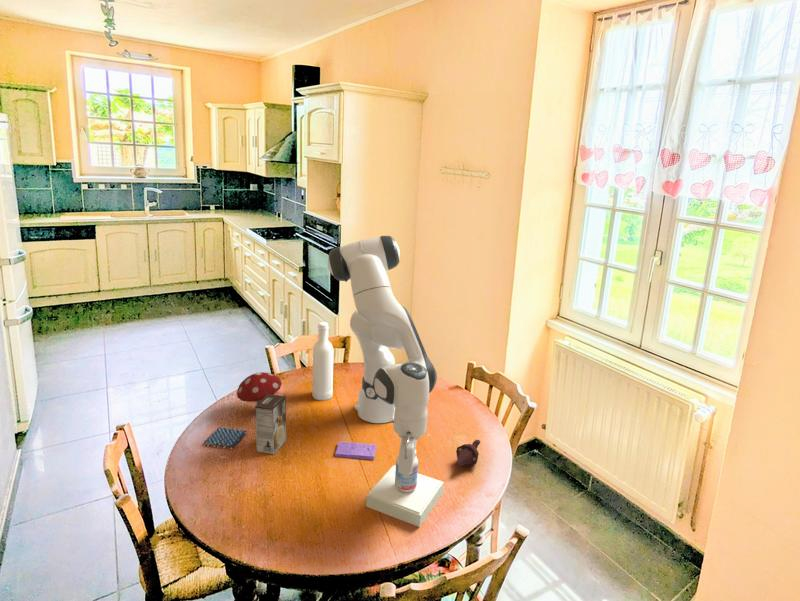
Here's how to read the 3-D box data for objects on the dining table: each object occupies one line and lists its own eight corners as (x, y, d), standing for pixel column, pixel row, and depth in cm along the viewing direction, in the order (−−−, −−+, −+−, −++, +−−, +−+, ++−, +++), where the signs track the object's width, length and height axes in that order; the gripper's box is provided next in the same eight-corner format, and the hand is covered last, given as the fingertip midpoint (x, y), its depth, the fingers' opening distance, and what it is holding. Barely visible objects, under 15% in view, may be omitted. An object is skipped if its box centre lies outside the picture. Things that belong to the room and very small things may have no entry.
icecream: (471, 462, 150) (490, 444, 162) (450, 448, 153) (470, 431, 166) (463, 481, 152) (482, 461, 165) (442, 466, 155) (463, 448, 168)
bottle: (307, 396, 198) (308, 323, 189) (322, 389, 204) (322, 318, 195) (323, 402, 193) (323, 328, 185) (337, 395, 200) (338, 323, 191)
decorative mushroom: (271, 425, 176) (270, 386, 172) (228, 419, 178) (226, 380, 174) (289, 404, 191) (288, 367, 187) (249, 398, 193) (248, 362, 189)
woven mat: (218, 430, 172) (217, 425, 171) (247, 434, 170) (247, 429, 170) (201, 447, 162) (201, 441, 161) (233, 451, 160) (232, 446, 160)
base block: (393, 475, 152) (393, 463, 151) (442, 492, 146) (443, 480, 144) (366, 506, 138) (366, 493, 137) (419, 527, 132) (420, 514, 131)
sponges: (373, 461, 160) (374, 456, 159) (334, 458, 160) (334, 452, 160) (376, 449, 166) (376, 444, 166) (338, 445, 167) (338, 440, 166)
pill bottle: (403, 495, 137) (405, 459, 134) (390, 483, 141) (392, 448, 138) (421, 488, 140) (423, 452, 137) (408, 476, 145) (410, 441, 142)
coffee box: (268, 436, 169) (267, 392, 165) (286, 439, 168) (286, 395, 163) (255, 451, 160) (254, 405, 156) (274, 455, 159) (273, 408, 155)
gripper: (419, 446, 125) (415, 493, 129) (424, 406, 145) (421, 449, 149) (393, 443, 126) (391, 490, 130) (402, 404, 145) (400, 446, 149)
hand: (407, 468), depth 139 cm, fingers closed on pill bottle, 6 cm apart
